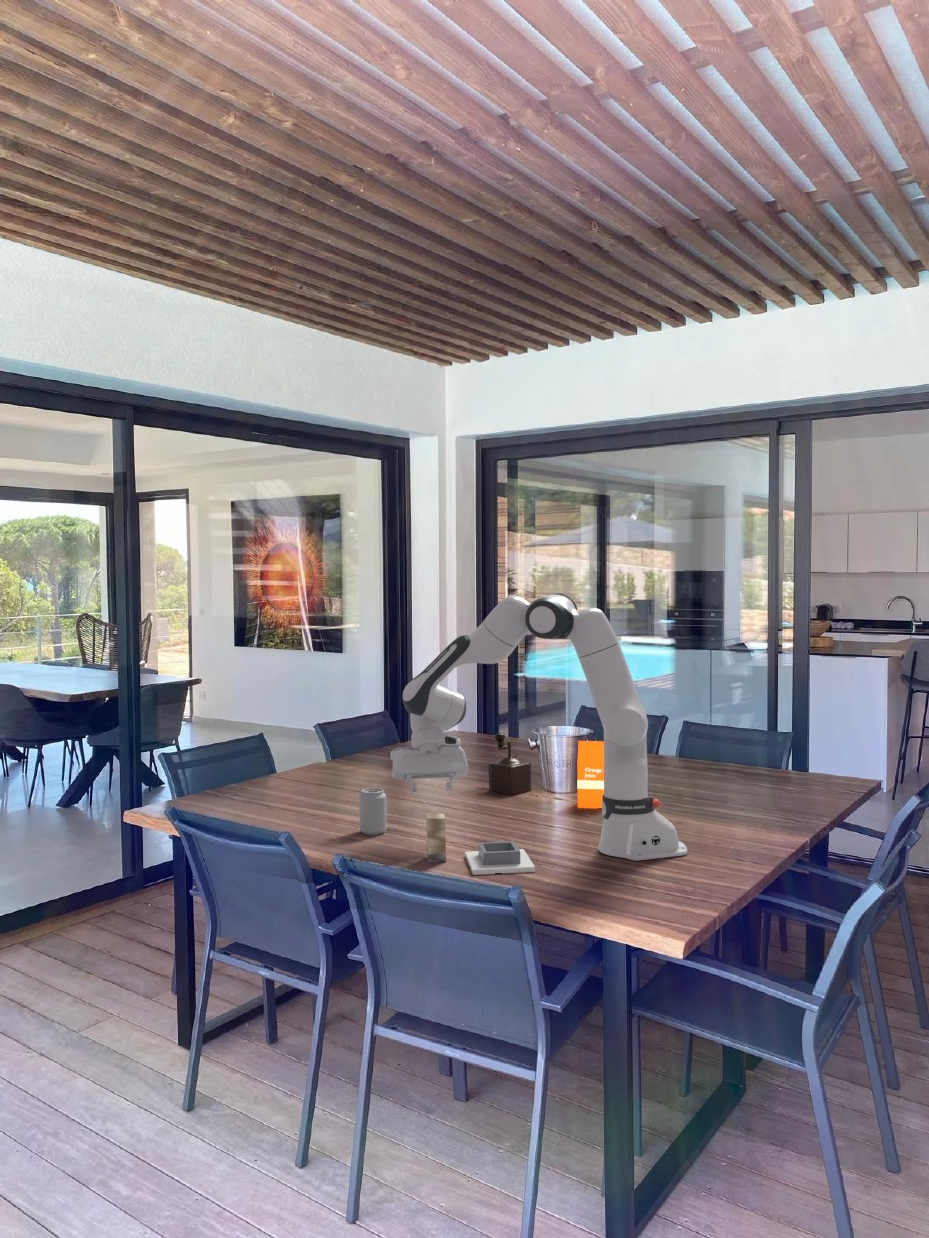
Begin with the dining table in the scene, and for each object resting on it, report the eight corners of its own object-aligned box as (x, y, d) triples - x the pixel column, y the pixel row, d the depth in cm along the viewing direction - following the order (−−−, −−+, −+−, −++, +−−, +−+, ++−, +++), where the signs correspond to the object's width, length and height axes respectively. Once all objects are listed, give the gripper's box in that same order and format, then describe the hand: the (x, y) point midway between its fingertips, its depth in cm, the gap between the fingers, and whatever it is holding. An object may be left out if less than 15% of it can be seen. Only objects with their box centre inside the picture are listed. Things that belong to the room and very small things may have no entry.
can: (387, 828, 262) (386, 786, 261) (386, 835, 254) (385, 792, 254) (361, 829, 262) (360, 787, 261) (358, 836, 254) (358, 793, 254)
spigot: (444, 856, 234) (443, 813, 234) (445, 861, 230) (445, 818, 230) (426, 857, 234) (426, 814, 233) (428, 862, 230) (427, 818, 229)
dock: (523, 853, 236) (523, 837, 236) (535, 871, 221) (534, 854, 221) (465, 856, 234) (465, 839, 234) (472, 874, 220) (472, 857, 219)
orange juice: (606, 808, 281) (606, 743, 281) (577, 807, 283) (576, 742, 282) (607, 802, 289) (607, 739, 288) (579, 801, 291) (579, 738, 290)
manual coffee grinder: (533, 790, 307) (533, 736, 306) (510, 796, 300) (510, 740, 299) (500, 783, 318) (500, 731, 318) (477, 788, 311) (476, 735, 310)
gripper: (390, 741, 248) (392, 785, 239) (465, 738, 251) (470, 782, 241) (389, 754, 253) (391, 798, 244) (463, 752, 255) (468, 795, 246)
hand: (431, 790), depth 242 cm, fingers open, 8 cm apart
